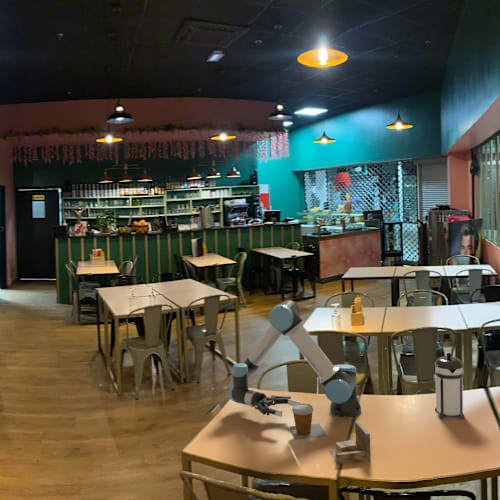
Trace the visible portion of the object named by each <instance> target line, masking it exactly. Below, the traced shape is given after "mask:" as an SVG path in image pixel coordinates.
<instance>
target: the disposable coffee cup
mask: <svg viewBox="0 0 500 500" xmlns="http://www.w3.org/2000/svg"><path fill="white" fill-rule="evenodd" d="M291 411H292V413H293V418H294V426H296V432H297V434H299V435H309V434H310V433H311V424H312V420H313V412H314V407H313V405H312V404H310V403H305V402H301V403H299V404H295V405H294V406H292V409H291Z"/></svg>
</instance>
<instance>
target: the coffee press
mask: <svg viewBox="0 0 500 500" xmlns="http://www.w3.org/2000/svg"><path fill="white" fill-rule="evenodd" d="M434 367H435V370H434V374H435V375H434V376H435V407H434V411H435V412H438V413H439V419H442V420H444V418H445V416H450V417H451V416H452V417H453V416H454V417H455V416H458V417H459V418H460V419H462V420H463V419H465V415H464V413H463V411H464V390H463V389H464V386H463V384H464V383H463V382H464V381H463V380H464V379H463V377H464V371H463V368H464V363H463V362H462V360H461V359H460V358H458V357H454V356H452V353H450V352H447V353H446V354H445V356H440V357H438V358H436V360H435V362H434Z"/></svg>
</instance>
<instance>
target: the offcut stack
mask: <svg viewBox="0 0 500 500" xmlns="http://www.w3.org/2000/svg"><path fill="white" fill-rule="evenodd" d="M334 450H336V453H343V452H352V451H358V449H357V444H356V442H354V441H353V440H352V439H349V440H343V441H338V442H335V449H334Z"/></svg>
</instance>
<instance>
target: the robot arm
mask: <svg viewBox="0 0 500 500" xmlns="http://www.w3.org/2000/svg"><path fill="white" fill-rule="evenodd" d="M300 315H301V309H300V306H299V305H298V303H297V302H296V301H294V300H290V299H287V300H283V301H281V302H280V303H278V304H277V305H275V306H274V307H273V308H272V310H270V312H269V322H270V326H269V327H268V329H267V330H266V331H265V333H264V334H263V335H262V337H261V338H260V339H259V341H258V342H257V344H256V345H255V347H254V348H253V349H252V351H251V353H249V355H248V356H247V358H246V359H245V360H244V362H243V363H242V362H239V363H235V364H233V365H232V371H231V372H232V386H231V388H230V389H229V392H228V397H229V400H230V401H233V402H235V403H237V404H241V405H245V406H249V407H251V408H254V409H255V410H257V411H259V412H260V413H261V414H262V415H264V416H265V415H266V416H270V414H271V415H272V416H273V415H274V416H277V417H283V410H282V409H279V408H278V409H277V408H274V407H271V406H276V405H287V406H291V407H293V406H294V405H295V404H299V403H300V401H299V400H295V399H292V397H291V396H289V395H287V396H284V395H273V394H272V395H271V397H269V396H266V394H265V393H264V392H261V391H256V390H252V389H249V379H250V378H251V377H252V376H253V375H254V374H256V373H257V371H258V369H259V368H260V366H261V365H262V363H263V362H264V360H265V359H266V358H267V356H268V355H269V353H270V352H271V351H272V350H273V348H274V347H275V345H276V344H277V342H278V341H279V340H280V339H281V337H282V336H283V337H288V338H289V340H291V342H292V343H293V345H294V346H295V347H296V348H297V350H298V351H299V353H301V354H302V356H303V357H304V359H305V360H306V361H307V363H308V364H309V365H310V366H311V368H312V369H313V370H314V372H315V373H316V374H317V376H318V377H319V384H320V385H321V386H322V388H323V389H324V394H325V396H326V398H327V400H329V401H330V405H329V412H330V414H332V415H333V416H337V417H341V418H349V417H350V418H351V417H357V416H358V415H359V416H360V414H361V413H362V406H361V404H360V401H359V398H358V394H357V393H358V383H357V381H358V380H357V374H358V372H357V368H356V366H354V365H352V364H333V363H332V362H331V360H330V359H329V357H328V356H327V355H326V354H325V352H324V351H323V350H322V349H321V347H320V346H319V345H318V343H317V342H316V341H315V339H313V337H312V336H311V334H310V333H309V332H308V331H307V329H306V328H305V327H304V320H303V319H302V317H301V316H300Z"/></svg>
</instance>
